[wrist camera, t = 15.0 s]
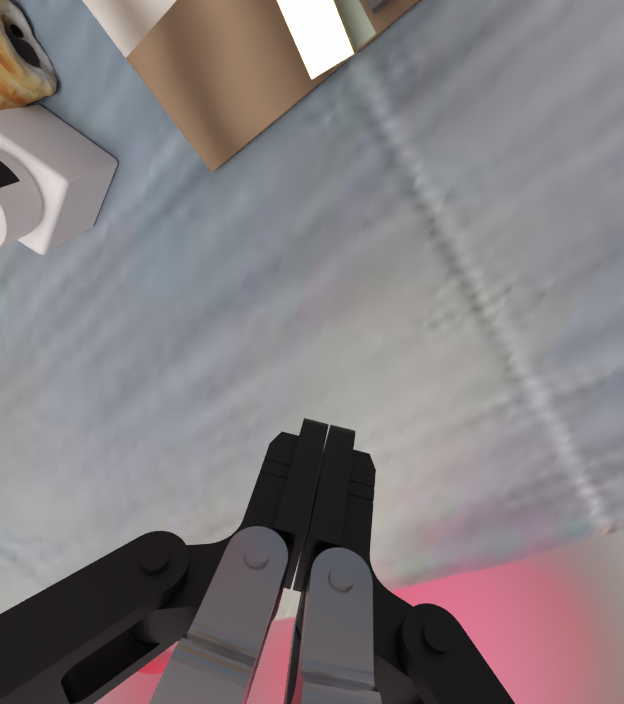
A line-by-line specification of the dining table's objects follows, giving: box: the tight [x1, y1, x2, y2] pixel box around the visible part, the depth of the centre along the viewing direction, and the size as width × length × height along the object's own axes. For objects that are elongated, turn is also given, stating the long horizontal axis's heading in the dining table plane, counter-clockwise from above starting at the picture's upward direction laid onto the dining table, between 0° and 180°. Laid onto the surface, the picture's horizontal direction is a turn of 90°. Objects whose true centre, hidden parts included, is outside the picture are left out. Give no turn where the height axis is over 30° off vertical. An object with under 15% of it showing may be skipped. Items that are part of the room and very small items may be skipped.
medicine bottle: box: [0, 105, 118, 255], centre depth 33 cm, size 7×7×12 cm
